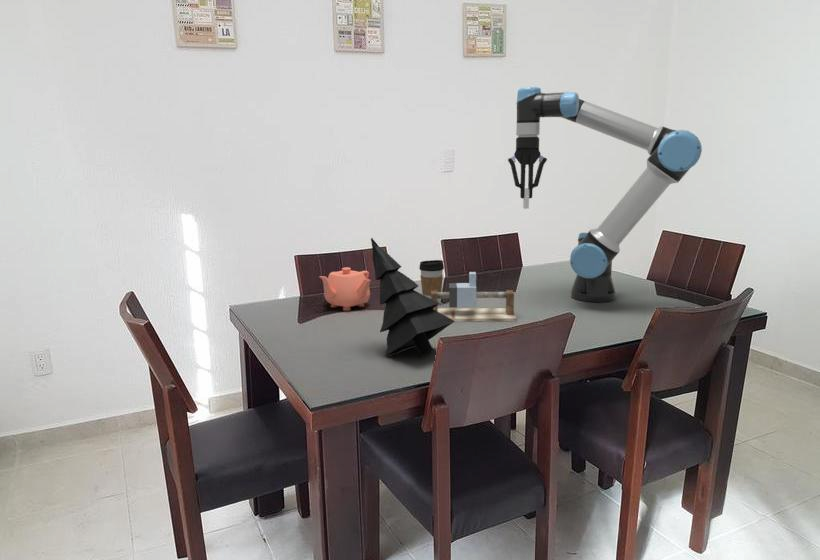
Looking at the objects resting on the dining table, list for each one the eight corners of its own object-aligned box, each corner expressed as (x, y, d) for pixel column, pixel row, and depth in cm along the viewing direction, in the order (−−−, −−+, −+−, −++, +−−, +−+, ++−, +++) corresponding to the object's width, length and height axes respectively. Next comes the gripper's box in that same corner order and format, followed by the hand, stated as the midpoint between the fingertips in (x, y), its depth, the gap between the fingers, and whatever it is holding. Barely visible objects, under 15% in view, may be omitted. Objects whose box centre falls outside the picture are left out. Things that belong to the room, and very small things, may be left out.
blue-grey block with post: (475, 302, 202) (475, 270, 200) (476, 307, 196) (476, 275, 194) (456, 302, 203) (456, 270, 200) (457, 307, 196) (457, 275, 194)
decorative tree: (428, 356, 173) (376, 247, 181) (462, 335, 163) (405, 221, 171) (391, 371, 163) (336, 254, 171) (424, 349, 153) (365, 227, 160)
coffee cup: (442, 307, 212) (441, 263, 208) (417, 306, 213) (417, 263, 210) (445, 301, 220) (445, 259, 216) (422, 300, 221) (421, 258, 218)
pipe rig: (512, 311, 205) (512, 287, 204) (516, 321, 194) (517, 296, 192) (430, 311, 207) (429, 287, 205) (429, 321, 195) (429, 296, 193)
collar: (456, 302, 203) (456, 283, 201) (457, 307, 196) (457, 287, 195) (449, 302, 203) (449, 283, 201) (449, 307, 197) (449, 287, 195)
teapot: (371, 311, 208) (370, 271, 205) (320, 313, 206) (318, 274, 203) (370, 299, 223) (368, 262, 220) (322, 301, 222) (320, 264, 219)
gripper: (545, 136, 209) (543, 206, 214) (506, 136, 210) (505, 207, 215) (549, 136, 202) (547, 209, 207) (509, 136, 202) (507, 209, 207)
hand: (526, 208), depth 211 cm, fingers closed
